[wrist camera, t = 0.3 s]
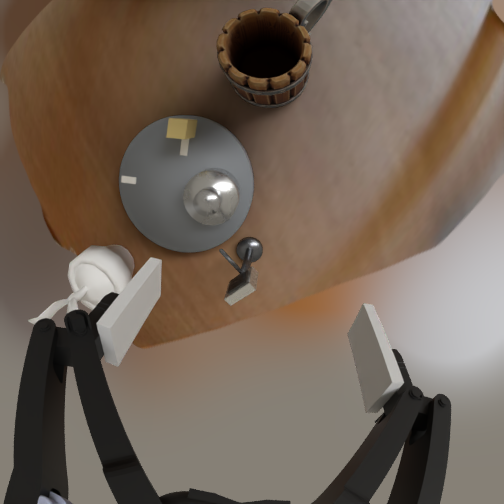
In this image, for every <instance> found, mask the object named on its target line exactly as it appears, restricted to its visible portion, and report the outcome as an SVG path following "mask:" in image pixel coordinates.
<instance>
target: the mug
mask: <svg viewBox="0 0 504 504" xmlns="http://www.w3.org/2000/svg"><path fill="white" fill-rule="evenodd" d="M331 1H332V0H298V1H297V3H296V4H295V5H294V6H293V8H292V9H291V11H290V12H289V14H288V13H282V14H280V12H279V11H278V10H276V9H272V8H262V9H261V10H260V11H256V10H255V9H250V10H247V11H244V12H242V13H240V14H239V15H238V19H237V18H232V19H231V20H229V21H228V22H227V23H226V24H225V26H224V27H223V29H222V30H223V32H224V33H223V34H220V35H219V37H218V39H217V50H218V52H217V57H218V61H219V64H220V67H221V69H222V70H223V72H224V73H225V75H226V76H227V78H228V80H230V83H231V85H232V86H233V88H234V90H235V91H236V93H237V94H238V95H239V96H240V97H241V98H242V99H244V100H245V101H247V102H249V103H251V104H252V105H256V106H260V107H267V108H274V107H279V106H284V105H286V104H288V103H290V102H292V101H294V100H295V99H296V98H297V97H298V96H300V95H301V93H302V92H303V90H304V89H305V87H306V84H307V81H308V78H309V69H310V66H311V63H312V45H311V41H310V37H309V36H310V35H311V33H310V31H311V29H312V28H313V27H314V26H315V24H316V23H317V22H318V21H319V19H320V18H321V17H322V15H323V14H324V13H325V11H326V10H327V8H328V6H329V5H330V3H331Z"/></svg>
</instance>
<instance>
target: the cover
mask: <svg viewBox="0 0 504 504" xmlns="http://www.w3.org/2000/svg"><path fill="white" fill-rule="evenodd" d="M240 198H241V189H240V185H239V183H238V181H237V179H236V178H235V177H234V176H233V175H232V174H231V173H230V172H228V171H226V170H224V169H221V168H208V169H205V170H203V171H201V172H200V173H198V174H197V175H195V176H194V177H192V178H191V179H190V180H189V181H188V183H187V184H186V187H185V189H184V193H183V201H184V205H185V208H186V210H187V212H188V213H189V215H190V216H191V217H192V218H193V219H195V220H196V221H198V222H200V223H202V224H205V225H219V224H222V223H224V222H226V221H227V220H229V219H230V218H231V217H232V215H233V214H234V212H235V211H236V208H237V206H238V204H239V202H240Z"/></svg>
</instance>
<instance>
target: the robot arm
mask: <svg viewBox="0 0 504 504" xmlns="http://www.w3.org/2000/svg"><path fill="white" fill-rule="evenodd" d="M161 264H162V260H160V259H156V258H152V257H150V259H149V260H148V261H147V262H146V263H145V264H144V266H143V267H142V268H141V269H140V270H139V271H138V273H137V274H136V275H135V276H134V277H133V278H132V280H131V281H130V282H129V283H128V284H127V286H126V287H125V288H124V289H123V291H122V292H121V293H120V294H117V293H114V292H111V293H109V294H107V295H105V296H104V297H103V298H102V299H101V301H100V303H98V304H97V305H96V307H95V308H94V309H93V310H92V311H91V313H90V314H89V315H88V313H87V312H85V311H83V310H73V311H70V312H69V313H67V314H66V316H65V318H64V322H65V326H66V328H61V327H56V325H55V323H54V321H53V320H51V319H48V318H44V319H41V320H38V321H37V322H36V323H35V325H34V327H33V331H32V334H31V338H30V342H29V346H28V350H27V354H26V358H25V363H24V367H23V372H22V377H21V382H20V389H19V395H18V402H17V410H16V420H15V434H14V469H13V472H12V475H11V478H10V481H9V485H8V488H7V492H6V496H5V500H4V504H72V503H71V502H70V501H69V500H68V478H67V468H66V456H65V434H64V409H65V388H66V374H67V366H71V367H73V368H74V373H75V377H76V382H77V386H78V391H79V395H80V399H81V403H82V406H83V410H84V414H85V417H86V420H87V424H88V427H89V430H90V433H91V436H92V439H93V442H94V444H95V447H96V450H97V452H98V455H99V457H100V460H101V463H102V466H103V472H104V475H105V478H106V480H107V482H108V484H109V487H110V489H111V491H112V493H113V495H114V497H115V499H116V501H117V503H118V504H290V501H277V500H262V501H254V502H245V503H239V502H236V501H233V500H231V499H228V498H225V497H223V496H220V495H217V494H215V493H210V492H205V491H200V490H196V489H191V488H190V490H189V491H182V492H174V493H169V494H166V495H163V496H161V497H159V496H158V495H157V493H156V491H155V489H154V488H153V486H152V484H151V482H150V481H149V479H148V477H147V476H146V474H145V472H144V470H143V468H142V466H141V464H140V462H139V460H138V458H137V456H136V454H135V452H134V450H133V447H132V445H131V443H130V441H129V439H128V436H127V434H126V432H125V430H124V427H123V425H122V422H121V420H120V417H119V415H118V412H117V409H116V407H115V404H114V401H113V398H112V396H111V393H110V390H109V387H108V384H107V381H106V377H105V374H104V371H103V368H102V364H101V361H100V360H101V358H102V357H103V355H104V357H105V361H106V362H108V363H110V364H113V365H116V366H119V364H120V363H121V361H122V359H123V357H124V356H125V354H126V352H127V350H128V349H129V347H130V345H131V344H132V342H133V340H134V338H135V337H136V335H137V333H138V332H139V330H140V328H141V327H142V325H143V323H144V322H145V320H146V318H147V317H148V315H149V313H150V312H151V310H152V308H153V307H154V305H155V304H156V302H157V300H158V299H159V297H160V296H161ZM348 338H349V342H350V345H351V349H352V353H353V357H354V361H355V365H356V370H357V373H358V378H359V383H360V387H361V391H362V396H363V401H364V406H365V410H366V413H371V412H372V413H373V412H374V413H376V412H378V411H379V410H380V409H381V408H382V407H383V408H384V413H383V414H382V415H381V416H380V417H379V418H378V419H377V420H376V421H375V423H376V422H377V423H376V425H375V426H374V427H373V429H372V430H371V432H370V433H369V435H368V436H367V438H366V439H365V441H364V442H363V444H362V445H361V446H360V448H359V449H358V450H357V452H356V453H355V454H354V456H353V457H352V458H351V460H350V461H349V462H348V464H347V465H346V466H345V467H344V469H343V470H342V471H341V472H340V473H339V475H338V476H337V477H336V478H335V480H334V481H333V482H332V483H331V484H330V485H329V486H328V488H327V489H326V490H325V491H324V492H323V493H322V494H321V495H320V496H319V497H318V498H317V499H316V500H315V501H314V502H313V503H311V504H370V503H369V501H370V499H371V498H372V496H373V494H374V493H375V492H376V490H377V489H378V487H379V486H380V484H381V483H382V481H383V479H384V478H385V476H386V475H387V473H388V471H389V470H390V468H391V466H392V464H393V463H394V461H395V459H396V457H397V456H398V454H399V452H400V450H401V448H402V446H403V444H404V442H405V444H404V448H403V453H402V457H401V461H400V465H399V468H398V472H397V475H396V479H395V482H394V485H393V488H392V491H391V494H390V497H389V500H388V503H387V504H440V500H441V496H442V491H443V486H444V480H445V474H446V468H447V460H448V451H449V441H450V425H451V403H450V400H449V399H448V398H447V397H446V396H445V395H443V394H437V395H436V396H435V397H434V398H433V399H432V398H428V397H424V395H423V393H422V391H421V390H420V389H419V388H418V387H415V386H413V385H412V382H411V379H410V377H409V374H408V372H407V369H406V366H405V364H404V363H403V362H404V361H403V359H402V356H401V355H400V353H399V352H398V351H397V350H396V349H391V346H390V344H389V341H388V339H387V336H386V334H385V331H384V329H383V326H382V324H381V322H380V319H379V317H378V315H377V313H376V311H375V308H374V306H373V305H371V304H365V303H364V304H363V305H362V307H361V309H360V311H359V313H358V315H357V317H356V319H355V321H354V323H353V325H352V327H351V328H350V330H349V332H348Z"/></svg>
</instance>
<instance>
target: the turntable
mask: <svg viewBox="0 0 504 504" xmlns="http://www.w3.org/2000/svg"><path fill="white" fill-rule="evenodd" d="M208 168H221V169H224V170H226V171H228V172H230V173H231V174H232V175H233V176H234V177H235V178H236V179H237V181H238V183H239V185H240V189H241V198H240V202H239V204H238V206H237V208H236V211H235V212H234V214H233V215H232V217H231V218H230V219H229V220H227V221H226V222H224V223H222V224H219V225H205V224H202V223H200V222H198V221H196V220H195V219H193V218H192V217H191V216H190V215H189V213H188V212H187V210H186V208H185V205H184V201H183V193H184V189H185V187H186V184H187V183H188V181H189V180H190V179H191V178H192V177H194V176H195V175H197V174H198V173H200V172H201V171H203V170H205V169H208ZM119 188H120V195H121V199H122V203H123V205H124V208H125V210H126V212H127V214H128V216H129V218H130V220H131V221H132V222H133V224H134V225H135V226H136V228H137V229H138V230H139V231H140V232H141V233H142V234H143V235H144V236H146V237H147V238H148V239H150V240H151V241H152V242H154V243H156V244H158V245H159V246H162V247H164V248H167V249H170V250H173V251H179V252H200V251H205V250H208V249H211V248H214V247H216V246H218V245H220V244H222V243H223V242H225V241H226V240H228V239H229V238H230V237H231V236H232V235H233V234H234V233H235V232H236V231H237V230H238V229H239V227H240V226H241V225H242V223H243V221H244V220H245V218H246V216H247V213H248V211H249V208H250V205H251V202H252V198H253V192H254V175H253V169H252V165H251V162H250V159H249V157H248V154H247V152H246V150H245V149H244V147H243V146H242V144H241V142H240V141H239V140H238V139H237V138H236V137H235V135H233V134H232V133H231V132H230V131H229V130H228V129H227V128H225V127H224V126H222V125H221V124H219V123H217V122H215V121H213V120H210V119H207V118H204V117H199V116H193V115H177V116H170V117H166V118H163V119H160V120H158V121H155V122H153V123H152V124H150V125H148V126H147V127H145V128H144V129H143V130H142V131H141V132H139V133H138V135H137V136H136V137H135V138H134V139H133V140H132V142H131V143H130V145H129V146H128V148H127V150H126V152H125V154H124V157H123V160H122V163H121V167H120V174H119Z"/></svg>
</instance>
